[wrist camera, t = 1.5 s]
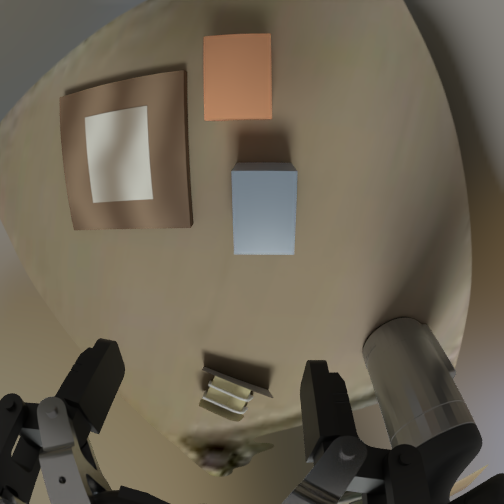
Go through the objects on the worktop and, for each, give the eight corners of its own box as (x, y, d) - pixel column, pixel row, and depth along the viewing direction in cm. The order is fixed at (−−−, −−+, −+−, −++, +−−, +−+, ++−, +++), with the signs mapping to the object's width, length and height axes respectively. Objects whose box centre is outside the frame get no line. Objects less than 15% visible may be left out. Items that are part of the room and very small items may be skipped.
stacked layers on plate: (207, 360, 43) (193, 390, 42) (202, 369, 34) (186, 405, 33) (265, 384, 43) (251, 413, 41) (274, 398, 34) (257, 432, 33)
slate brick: (291, 162, 26) (297, 171, 21) (289, 232, 29) (293, 254, 24) (236, 162, 26) (231, 171, 22) (238, 232, 29) (234, 254, 24)
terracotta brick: (269, 49, 21) (270, 33, 17) (270, 119, 24) (271, 118, 20) (213, 51, 21) (203, 36, 17) (214, 121, 24) (204, 120, 20)
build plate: (186, 72, 22) (183, 69, 21) (193, 223, 29) (190, 228, 27) (65, 97, 23) (59, 97, 21) (79, 226, 29) (73, 230, 28)
